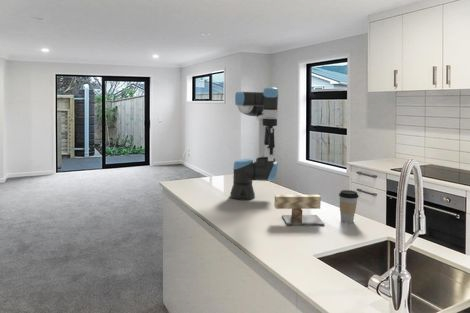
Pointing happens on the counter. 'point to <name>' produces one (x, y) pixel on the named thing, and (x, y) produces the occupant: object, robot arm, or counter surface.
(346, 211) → the coffee cup
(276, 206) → the beech bar
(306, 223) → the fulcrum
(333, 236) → the counter surface
